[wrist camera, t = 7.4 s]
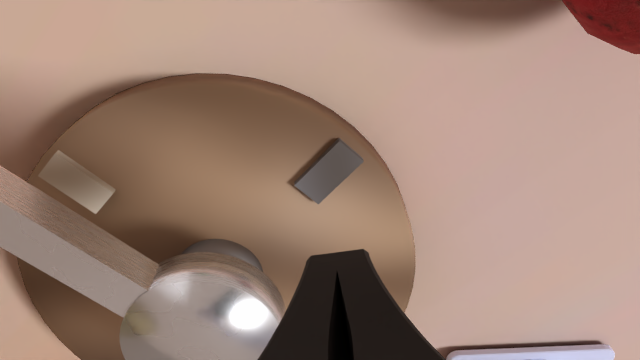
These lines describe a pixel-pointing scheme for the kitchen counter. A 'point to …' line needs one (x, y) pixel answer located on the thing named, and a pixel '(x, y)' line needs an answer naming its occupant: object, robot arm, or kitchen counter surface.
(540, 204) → the kitchen counter surface
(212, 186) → the base
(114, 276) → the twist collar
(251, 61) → the kitchen counter surface
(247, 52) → the kitchen counter surface
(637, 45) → the onion
